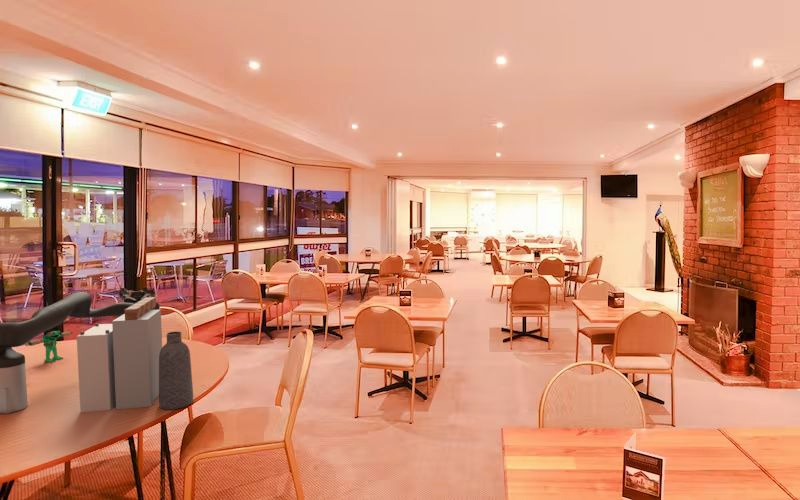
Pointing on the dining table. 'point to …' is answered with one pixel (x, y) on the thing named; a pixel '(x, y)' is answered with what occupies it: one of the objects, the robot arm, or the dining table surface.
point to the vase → (175, 374)
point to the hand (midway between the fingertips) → (133, 288)
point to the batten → (140, 308)
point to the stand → (120, 363)
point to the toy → (50, 344)
